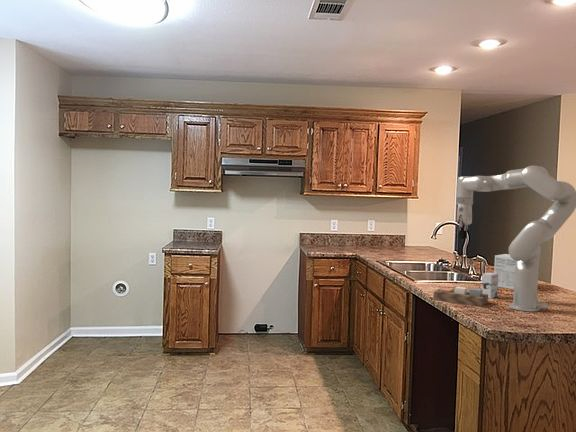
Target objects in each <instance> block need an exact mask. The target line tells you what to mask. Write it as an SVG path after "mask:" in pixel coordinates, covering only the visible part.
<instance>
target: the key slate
mask: <svg viewBox="0 0 576 432" xmlns="http://www.w3.org/2000/svg"><path fill="white" fill-rule="evenodd" d="M469 292H470V295H471V296H478V297H481V296H482V294H483V289H482V288H475V287H474V288H473V287H472V288H470V289H469Z"/></svg>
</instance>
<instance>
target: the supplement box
mask: <svg viewBox="0 0 576 432" xmlns="http://www.w3.org/2000/svg"><path fill="white" fill-rule="evenodd" d="M515 264H516V260H514V259H512V258H511V257H510V255H509V253H503V254H497V255H494V269H493V273H498V288H503V289H509V290H514V276H515Z"/></svg>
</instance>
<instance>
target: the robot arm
mask: <svg viewBox="0 0 576 432" xmlns="http://www.w3.org/2000/svg"><path fill="white" fill-rule="evenodd" d="M520 188H522V189H523V188H530V189H532V190H533V191H535V193H537V194H539V195H541V196H542V197H544V199H546V200H548V201H552V202H553V204H552V205H551V206H550V207H549V208H547V210H546V211H545V213H544V214H542V215H541V216H540V218H539V219H537V220H533V221H530V222H528V223H527V224H526V225H525V226H524V227H523V228H522V229H521V231H520V232H519V233H518V234H517V235H516V236H515V237H514V239H513V240H512V241H511V243H510V245H509V246H508V254H509V255H510V257H511V258H512V259H514V260H516V264H515V276H514V289H513V296H512V297H513V300H512V302H510V303H509V304H508V306H509V308H511V309H513V310H517V311H521V312H522V311H523V312H540V311H541V308H544V309H548V307H549V306H548V303H546V302H541V301H539V299H538V285H539V284H538V282H539V266H540V260H541V256H542V255H541V254H542V249H541V245H542V243H544V242H549V241H550V240H551V239H553V237H554V236H555V235H556V233H557V232H558V231H559V230H560V229H561V228H562V227H563V225H564V224H565V223H566V222H567V220H568V219H569V218H570V217H571V216H572V214H573V213H574V212H575V210H576V189H575V187H574V185H572V184H570V183H569V182H566V181H563V180H562V181H560V180H557V179H556V178H554V177H552V176H551V175H550V174H549V171H548V170H547V169H546V168H545V167H543V166H540V165H539V166H538V165H528V166H526V167H524V168H519V169H517V168H516V169H511V170H507V171H506V172H505V173H503V174H502V173H501V174H497V175H495V174H494V175H474V176H473V175H472V176H470V175H469V176H468V175H467V176H464V175H463V176H459V177H458V178H457V185H456V203H455V204H456V205H457V211H456V224H458V227H459V232H458V233H459V235H458V237H459V238H458V239H461V240H467V239H468V226H469V225H471V224H472V223H473V209H472V208H473V204H474V192H481V193H482V192H487V193H488V192H489V193H490V192H496V191H503V190H514V189H515V190H516V189H520Z"/></svg>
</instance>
